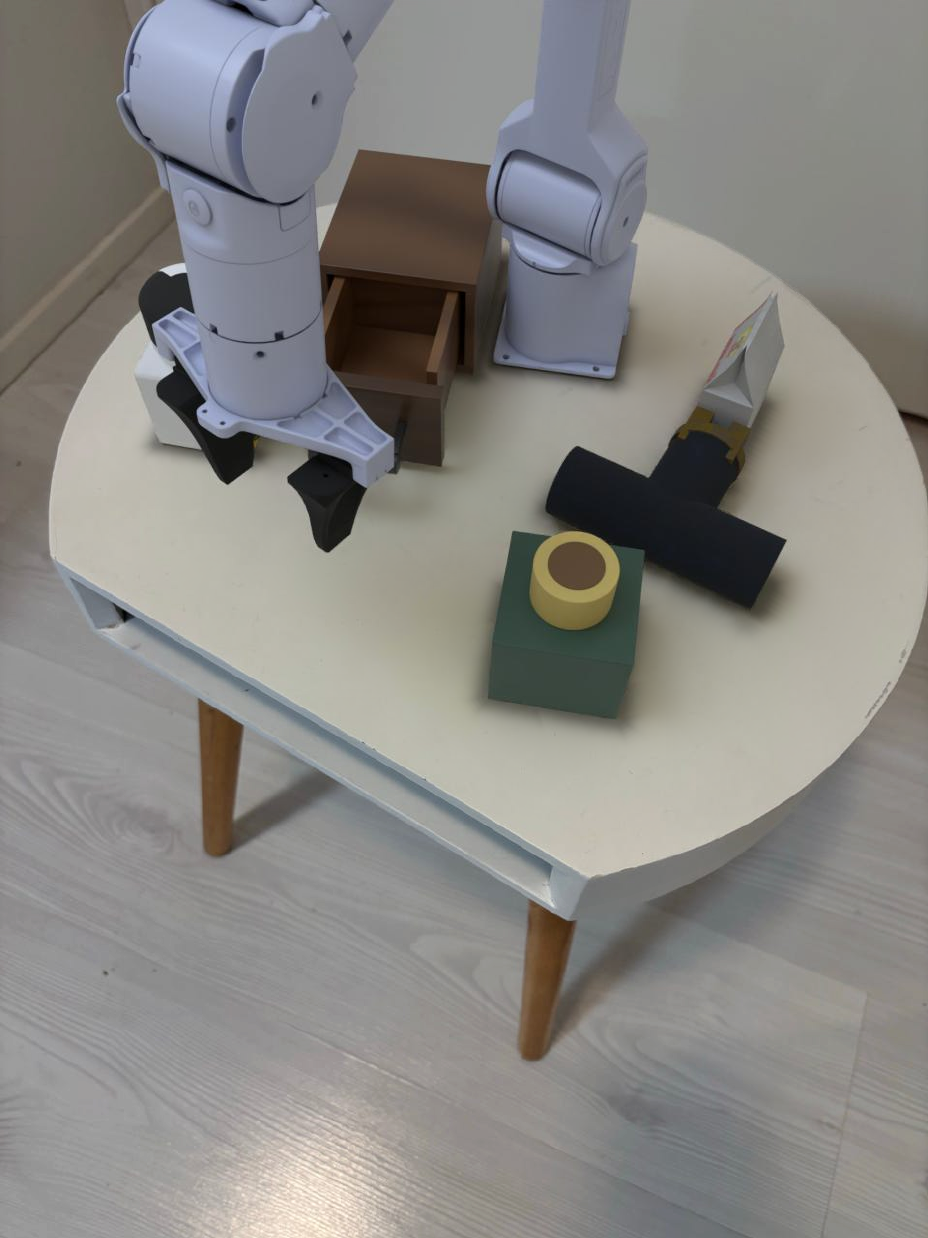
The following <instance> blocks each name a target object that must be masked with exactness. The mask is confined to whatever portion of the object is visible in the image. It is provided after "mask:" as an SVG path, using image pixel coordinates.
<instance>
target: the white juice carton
mask: <svg viewBox="0 0 928 1238" xmlns="http://www.w3.org/2000/svg"><path fill="white" fill-rule="evenodd" d="M773 291H774V290H771V292H770V293H769V295H768V296H767V298H766V299H765V300H764V302H762V303H761V304H760V306H759V307H757V308H756V310H754V311H753V312H752V313H751V314H750V315H749V316H748V317H746V318H745V319H744V320H743V321H742V322H741V323H739V324H738V326H736V327H735V328H734V330H733V331H732V333H731V335H730V337H729V339H728V341H727V343H726V345H725V347H724V348H723V350H722V352H721V354H720V356H719V358H718V360H717V362H716V363H715V365H714V367H713V369H712V371H711V373H710V374H709V376H708V379H707V380H706V382H705V384H704V386H703V388H702V390H701V393H700V396H699V399H698V401H697V405H696V406H699V407H701V408H704V409H706V410H708V411H711V412H713V413H715V414H714V417H713V420H712V424H715V425H718V426H720V427H722V428H724V429H725V430H728V428H729V427H730V425H731V423H732V422H733V421H734V422H737V423H739V424H741V425H744V426H746V427H748V428H751V429H752V426H753V423H754V422H755V420H756V418H757V416H758V415H759V414H758V413H759V412H760V409H761V407H762V405H763V403H764V401H765V397H766V395H767V393H768V391H769V387H770V385H771V383H772V380H773V378H774V374H775V372H776V369H777V367H778V364H779V361H780V359H781V358H782V357H781V356H782V354H783V352H784V349H785V347H786V346H785V345H786V344H785V340H784V336H783V329H782V325H781V321H780V314H779V305H778V297H779V292H778V291H777V292H776V293H775V294H774V295H773Z"/></svg>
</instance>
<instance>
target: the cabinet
mask: <svg viewBox="0 0 928 1238" xmlns="http://www.w3.org/2000/svg"><path fill="white" fill-rule="evenodd" d="M490 167H491V164H486V163H477V162H470V161H469V162H468V161H462V160H461V161H460V160H453V159H445V158H444V159H443V158H436V157H428V156H420V155H412V154H403V153H394V152H386V151H380V150H379V151H378V150H370V149H369V150H368V149H361V148H359V149H358V150H357V152H356V155H355V157H354V160H353V162H352V165H351V168H350V170H349V173H348V176H347V178H346V181H345V183H344V186H343V189H342V191H341V194H340V197H339V199H338V202H337V204H336V207H335V208H334V212H333V214H332V217H331V220H330V222H329V225H328V227H327V230H326V232H325V236H324V238H323V241H322V242H321V246H320V248H319V262H320V278H321V293H322V306H323V307H324V305H325V302H326V299H327V296H328V294H329V291H330V288H331V285H332V283H333V280H334V277H335V275H340V276H348V277H355V278H363V279H371V280H378V281H386V282H394V283H401V284H409V285H417V286H424V287H432V288H439V289H447V290H455V291H462V292H463V333H462V334H463V336H462V344H461V348H460V352H459V356H458V360H457V364H456V368H455V372H454V373H457V374H458V373H459V374H465V375H472V376H473V375H475V371H476V367H477V363H478V359H479V354H480V350H481V345H482V341H483V337H484V333H485V329H486V325H487V321H488V316H489V312H490V309H491V303H492V300H493V299H492V298H493V295H494V291H495V288H496V287H495V286H496V282H497V277H498V274H499V269H500V265H501V261H502V249H503V248H502V246H503V244H502V243H503V237H502V221H499V220H496V219H494V218H493V217H492V216H491V214H490V212H489V209H488V204H487V198H486V185H487V179H488V174H489V170H490Z"/></svg>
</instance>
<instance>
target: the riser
mask: <svg viewBox="0 0 928 1238" xmlns="http://www.w3.org/2000/svg"><path fill="white" fill-rule="evenodd" d="M552 536H553V535H547V534H539V533H533V532H525V531H519V530H512V531H511V537H510V542H509V548H508V554H507V560H506V564H505V569H504V574H503V575H504V576H503V580H502V585H501V590H500V597H499V602H498V606H497V607H498V608H497V612H496V617H495V623H494V629H493V632H492V633H493V634H492V639H491V647H490V661H489V672H488V673H489V674H488V687H487V699H490V700H494V701H495V700H496V701H503V702H509V703H513V704H519V705H525V706H533V707H539V708H544V709H551V710H555V711H556V710H557V711H563V712H570V713H577V714H581V715H587V716H593V717H598V718H599V717H600V718H605V719H612V720H616V719H617V716H618V712H619V709H620V706H621V703H622V701H623V698H624V695H625V693H626V690H627V687H628V683H629V680H630V677H631V675H632V672H633V669H634V666H635V657H636V647H637V637H638V627H639V618H640V617H639V615H640V605H641V597H642V596H641V595H642V586H643V575H644V566H645V565H644V564H645V559H644V555H645V551H644V550H640V549H633V548H627V547H620V546H615V545H613V544H608V545H609V546H610V547H611V548H612V549H613V551H614V552H615V554H616V556H617V558H618V561H619V565H620V575H619V579H618V583H617V587H616V590H615V594H614V598H613V601H612V605H611V608H610V610H609V612H608V614H607V615H606V616H605V617H604V618H603V619H602V620H601V621H600V622H599V623H597V624H595V625H594V626H592V627H589V628H586V629H581V630H566V629H561V628H558V627H555V626H553V625H551V624H549V623H547V622H546V621H545V620H543V619H542V618H541V617H540V616H539V615H538V614H537V612H536V611H535V610H534V608H533V606H532V603H531V600H530V594H529V591H530V583H531V575H532V567H533V560H534V556H535V554H536V551H537V550H538V548H539V547H540V546H541V544H542V543H543V542H545V541H546V540H547V539H549V538H550V537H552Z"/></svg>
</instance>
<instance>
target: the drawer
mask: <svg viewBox="0 0 928 1238" xmlns="http://www.w3.org/2000/svg"><path fill="white" fill-rule="evenodd" d="M323 322H324V337H325V352H326V363H327V365H328V366H329V367H330V369H331V370H332V371H333V372H334V374H335V375H336V376H337V377H338V379H339V380H340V381H341V383H342V384H343V385H344V386H345V388H346V389H347V390H348V391H349V393H350V394H351V395H352V397H353V398H354V399H355V400H356V402H357V403H358V404H359V405H360V407H361V408H362V409H363V410H364V412H365V413H366V414H367V416H368V417H369V418H370V419H371V420H372V421H373V422H374V423H375V424H376V425H377V426H378V427H379V428H380V429H381V430H382V431H384V432H385V433H387V434H388V435H390V436H391V437H393V438H394V467H393V468H392V469H391V470H390V471H388V472H387V473H386V474H390V475H398V474H399V472H400V470H401V462H405V463H411V464H418V465H426V466H432V467H438V468H441V467H443V463H444V459H445V453H446V452H445V451H446V450H445V412H446V408H447V404H448V401H449V395H450V391H451V389H452V388H451V387H452V383H453V379H454V375H455V373H456V372H455V368H456V364H457V360H458V356H459V352H460V348H461V344H462V336H463V334H462V333H463V292H462V291H455V290H447V289H439V288H432V287H424V286H417V285H409V284H401V283H394V282H386V281H378V280H371V279H363V278H355V277H348V276H340V275H335V277H334V280H333V283H332V285H331V288H330V291H329V294H328V296H327V299H326V302H325V305H324V307H323ZM316 455H318V452H317V451H313V450H310V449H307V459H308V460H309V459H310V458H312V457H313V456H316ZM308 460H307V461H308Z"/></svg>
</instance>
